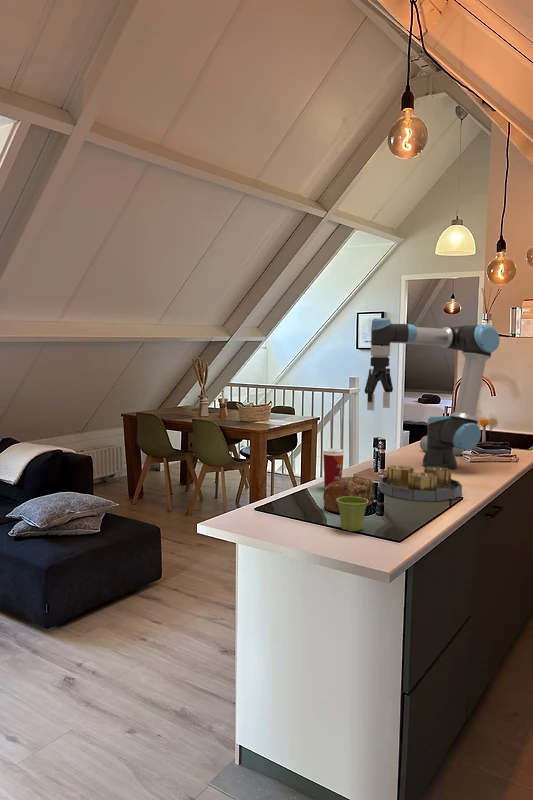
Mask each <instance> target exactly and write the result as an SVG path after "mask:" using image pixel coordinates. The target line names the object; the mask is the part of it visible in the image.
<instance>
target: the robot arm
mask: <svg viewBox="0 0 533 800" xmlns="http://www.w3.org/2000/svg"><path fill="white" fill-rule="evenodd" d="M370 332H371V333H370V334H371V335H370V367H373V368H369V369H368V376H367V379H366V384H365V388H364V394H367V403H366V406H367V409H366V410H367V411H375V399H376V398H375V395H376V394H375V393H374V392H375V390H376V387H377V385H378V384H379V381H380V384H381V385H382V388H383V391H382V395H383V396H382V408H383V409H390V407H391V405H390V404H391V403H390V402H391V401H390V400H391V393H393V390H394V387H393V382H392V377H391V368H389V366H390V355H391V348H390V347H391V344H406V345H421V346H422V345H423V346H425V345H426V346H439V347H441V348H442V349H448V350H449V349H450V350H455V351H459V352H462V355H463V357H464V364H463V368H462V372H461V373H462V374H461V378H460V383H459V388H458V394H457V399H456V404H455V409H454V412H453V413H451V414H450V415H449V416H448V415H447V416H445V415H444V416H430V417H429V418H428V420H427V425H426V426H427V433H426V434H427V435H426V436H427V450H426V452H425V453H424V455H423V458H422V464H421V465H422V466H423V467H424V468H427V467H436V466H437V467H442V468H448V469H451V470H453V469H457V467H458V461H457V459H456V456H455V454H454V451H453V447H455V448H458V449H464V450H471V449H473V448H474V447H476V446H477V445H478V443H479V442H480V440H481V436H482V431H481V429H480V426H479V425H478V423H479V419H478V418H477V417H476V414H477V413H476V412H477V408H478V407H477V406H478V403H479V397H480V393H481V386H482V383H483V378H484V373H485V368H486V362H487V361H488V360H489V359H491V357H492V353H493V352H494V351H496V350H497V349H498V347H499V345H500V335H499V332H498V331H497V329H496V328H495V327H494V326H492V325H491V324H482V323H481V324H474V325H473V324H471V325H470V324H469V325H468V324H467V325H460V326H459V325H458V326H444V327H443V328H435V327H422V326H421V327H420V326H415V325H414V324H410V323H392V321H391V318H385V317H383V318H381V317H378V318H373V319H372V320H371V328H370Z"/></svg>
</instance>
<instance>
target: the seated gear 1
mask: <svg viewBox="0 0 533 800" xmlns="http://www.w3.org/2000/svg"><path fill="white" fill-rule="evenodd" d="M420 475H424V476H420ZM436 488H437V475H434V474H433V473H424V471H421V472H415V471H414V472H412V474H409V478H408V489H411V490H428V491H436Z"/></svg>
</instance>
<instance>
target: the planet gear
mask: <svg viewBox="0 0 533 800" xmlns="http://www.w3.org/2000/svg"><path fill="white" fill-rule="evenodd" d="M399 468H403V469H399ZM412 472H415V468H414V467H412V466H409V465H408V466H407V465H401V464H399V465H390V466H387V467H386V476H387V482H388V483H389V484H391V485H392V484H393V485H398V486H401V485H407V486H408V478H409V474H412Z"/></svg>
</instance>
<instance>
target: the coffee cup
mask: <svg viewBox="0 0 533 800" xmlns="http://www.w3.org/2000/svg"><path fill="white" fill-rule="evenodd" d="M322 455H323V480H324V488H325V487H327V486H328V485H329V484H330V483H332V482H334V481H337V480H340V479H342V478H343V465H344V455H345V453H344V450H343V449H341V448H325V449H323V452H322Z"/></svg>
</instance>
